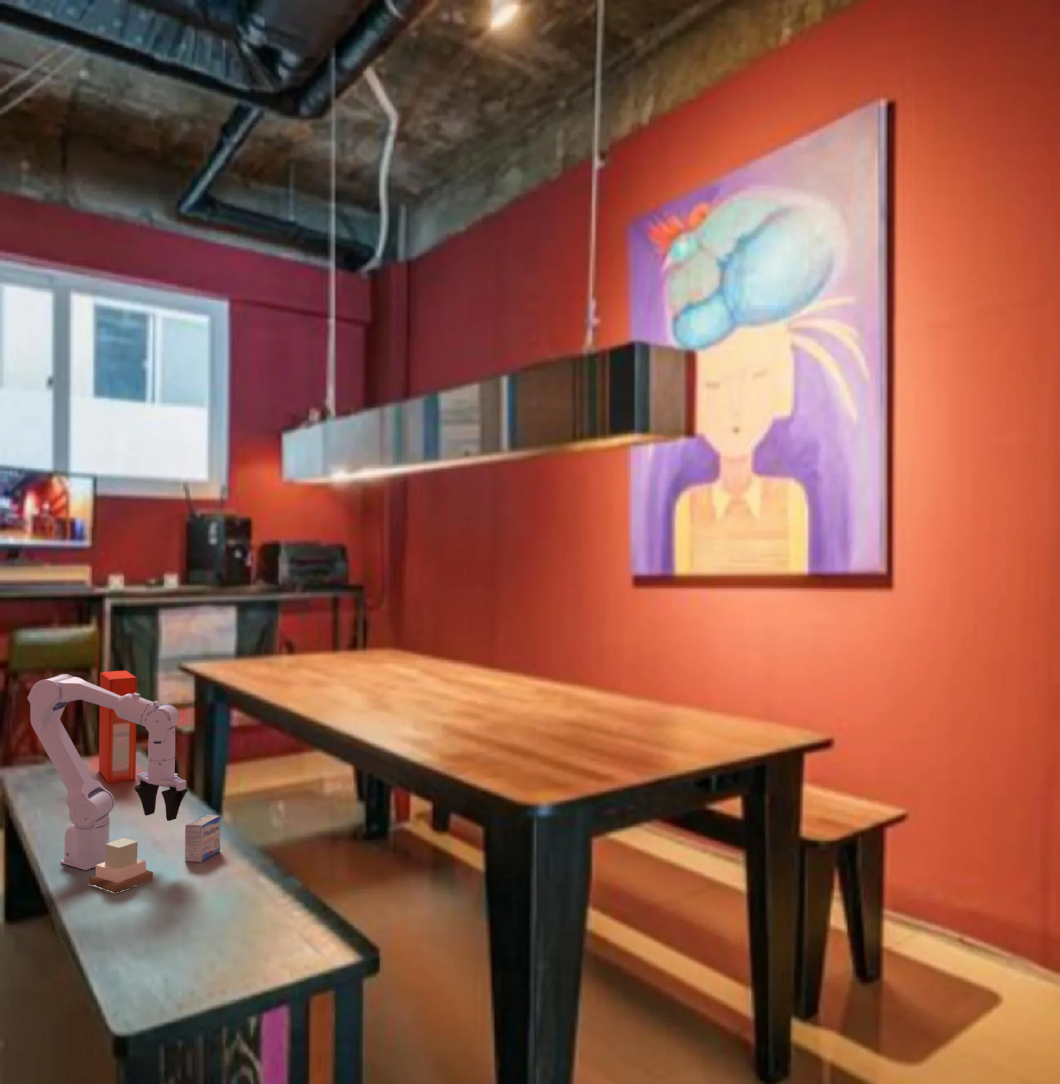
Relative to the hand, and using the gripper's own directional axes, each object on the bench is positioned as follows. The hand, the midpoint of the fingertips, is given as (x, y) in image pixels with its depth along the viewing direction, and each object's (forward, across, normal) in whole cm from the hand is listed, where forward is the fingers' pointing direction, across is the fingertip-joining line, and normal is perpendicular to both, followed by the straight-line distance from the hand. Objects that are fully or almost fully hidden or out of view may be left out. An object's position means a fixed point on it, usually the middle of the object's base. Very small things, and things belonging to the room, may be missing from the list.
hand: (160, 817), depth 194 cm
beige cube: (+6, -3, +12) cm, 14 cm away
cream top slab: (+9, -3, +12) cm, 15 cm away
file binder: (+10, +74, -42) cm, 86 cm away
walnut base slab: (+11, -3, +12) cm, 17 cm away
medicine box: (+11, -5, -8) cm, 14 cm away
